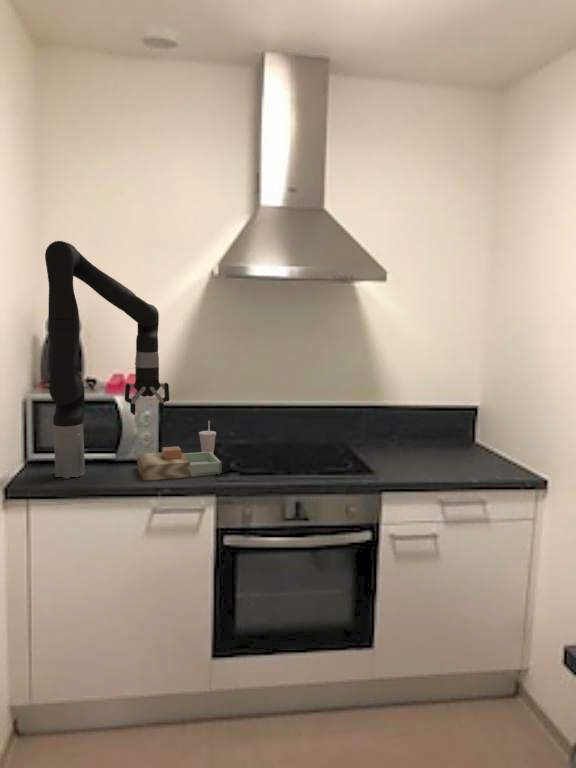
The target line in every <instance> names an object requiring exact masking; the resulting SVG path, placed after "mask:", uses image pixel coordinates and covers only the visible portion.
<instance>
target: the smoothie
mask: <svg viewBox="0 0 576 768" xmlns="http://www.w3.org/2000/svg"><path fill="white" fill-rule="evenodd" d="M207 423H208V425H207V426H208V429H207V430H201V431H199V432H198V436H199V440H200V449H201V452H212V453H213V454H214V450H215V444H216V436H217V432H216V431H214V430H211V420H208V421H207Z"/></svg>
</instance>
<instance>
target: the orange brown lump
mask: <svg viewBox="0 0 576 768" xmlns="http://www.w3.org/2000/svg"><path fill="white" fill-rule="evenodd" d="M161 450H162V451H161V452H162V456H163V458H164V459H165V460H170V459H182V454H181V452H182V448H180V446H179V445H177V446H163V447H162V449H161Z"/></svg>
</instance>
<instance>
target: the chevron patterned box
mask: <svg viewBox="0 0 576 768" xmlns="http://www.w3.org/2000/svg"><path fill="white" fill-rule="evenodd" d="M183 453H184V452H182V451H181V454H182V459H170V460H165V459H164V458H163V456H162V451H161V452H149V453H148V452H147V453H136V454H137V455H136V459H137V461H136V464H137V468H136V469H137V470H138V472H139V474H140V476H141V478H142V480H143V481H144V482H146V481H147V482H149V481H157V480H159V481H160V480H171V479H180V478H181V479H182V478H190V477H191V476H190V462H189V460H188V459H187V458H186V457H185V456H184V454H183Z"/></svg>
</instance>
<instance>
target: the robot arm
mask: <svg viewBox="0 0 576 768" xmlns="http://www.w3.org/2000/svg"><path fill="white" fill-rule="evenodd" d="M44 253H45V254H44V259H45V265H46V274H47V281H48V282H47V283H48V314H47V315H48V334H49V337H48V338H49V352H50V374H49V388H48V389H49V390H48V391H49V395H50V397H51V398H50V399H52V401H53V402H54V403H55V409H54V410H55V412H54V413H53V414H54V415H53V417H52V420H53V421H52V422H53V445H54V446H53V449H54V450H53V451H54V473H55V476H54V477H64V478H63V479H71V478H70V477H76V478H80V477H83V476H84V475H85V474H86V472H85V470H86V467H85V440H84V439H85V437H84V417H85V407H86V406H85V404H86V403H85V397H86V395H85V385H84V383H83V380H82V378H80V377H79V376H78V375H76V368H75V367H76V366H75V363H76V355H77V350H78V349H77V348H78V345H79V340H80V313H79V307H78V303H77V298H76V295H75V290H74V277H75V278H77V279H78V280H80V281H82V282H83V283H84V284H85V285H88V286H89V287H90V288H91V289H92V290H93V291H95V293H97V294H98V295H99V296H100V297H101V298H103V299H104V300H106V301H107V302H109V303H110V304H111V305H112V306H114V307H116V308H117V309H119V310H121V311H122V312H124V313H125V314H126V316H129V318H131V319H132V320H133V321H135V322H136V323H137V335H136V339H135V343H136V345H135V351H136V352H135V359H134V360H135V363H134V365H135V367H134V368H135V369H134V370H135V373H134V374H135V378H134V379H135V381H134V383H129V382H126V383H125V388H124V401H125V402H126V403H129V406H130V410H129V411H130V414H132V416H136V402H137V400H138V399H139V398H140V397H143V398H145V397H153V396H154V397H156V399H157V400H158V415H162V413H164V410H165V409H164V408H165V407H164V405H165V403H166V402H170V386H169V383H168V382H163V383H160V358H159V338H158V337H159V336H158V333H159V324H160V323H159V321H160V319H159V318H160V315H159V310H158V309H157V307H156V306H154V305H153V304H150V303H148V302H147V301H145V300H144V299H142V298H140V297H139V296H137V295H136V294H135V293H134V292H133V291H132V290H131V289H129V288H128V287H126V286H125V285H124V284H122V283H121V282H119V281H118V280H117V279H115V278H114V277H111V276H110V275H108V274H107V273H105V272H103V271H102V270H101V269H99V268H98V267H96V265H94V264H92V262H90V261H89V260H88V259H87V258H86V257H85V256H83V255H82V254H81V252H80V251H78V249H77V248H76V247H75V246H74V245H73V244H71V243H69V242H67V241H62V240H55V241H52V242H51V243H50V244H49V245H48V246H47V247H46V249H45V252H44ZM133 388H134V389H135V391H136V392H135V393H134V395H133V396H132V397H130V393H131V391H132V390H133ZM161 388H162V390H163V391H164V392H163V393H164V397H162V396H161V395H160V394H159V393H158V391H159V389H161ZM79 476H80V477H79Z"/></svg>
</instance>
